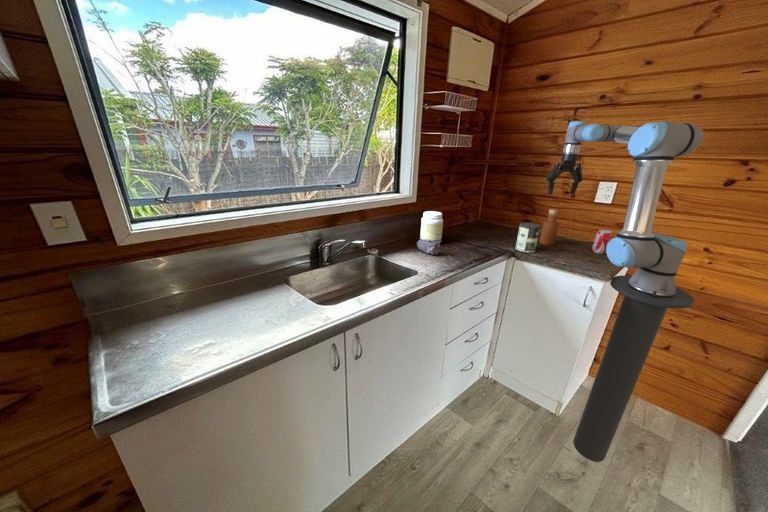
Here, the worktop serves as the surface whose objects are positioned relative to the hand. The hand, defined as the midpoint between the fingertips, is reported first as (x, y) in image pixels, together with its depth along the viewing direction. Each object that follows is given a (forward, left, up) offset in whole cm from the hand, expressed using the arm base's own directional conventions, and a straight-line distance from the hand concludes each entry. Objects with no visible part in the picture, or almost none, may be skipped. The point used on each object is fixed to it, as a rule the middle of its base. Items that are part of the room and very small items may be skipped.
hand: (561, 194), depth 166 cm
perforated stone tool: (-69, +33, -29) cm, 82 cm away
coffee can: (-21, +4, -29) cm, 36 cm away
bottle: (+1, +2, -29) cm, 29 cm away
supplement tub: (-54, +44, -29) cm, 75 cm away
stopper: (+1, +2, -16) cm, 16 cm away
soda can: (+8, -23, -29) cm, 38 cm away
